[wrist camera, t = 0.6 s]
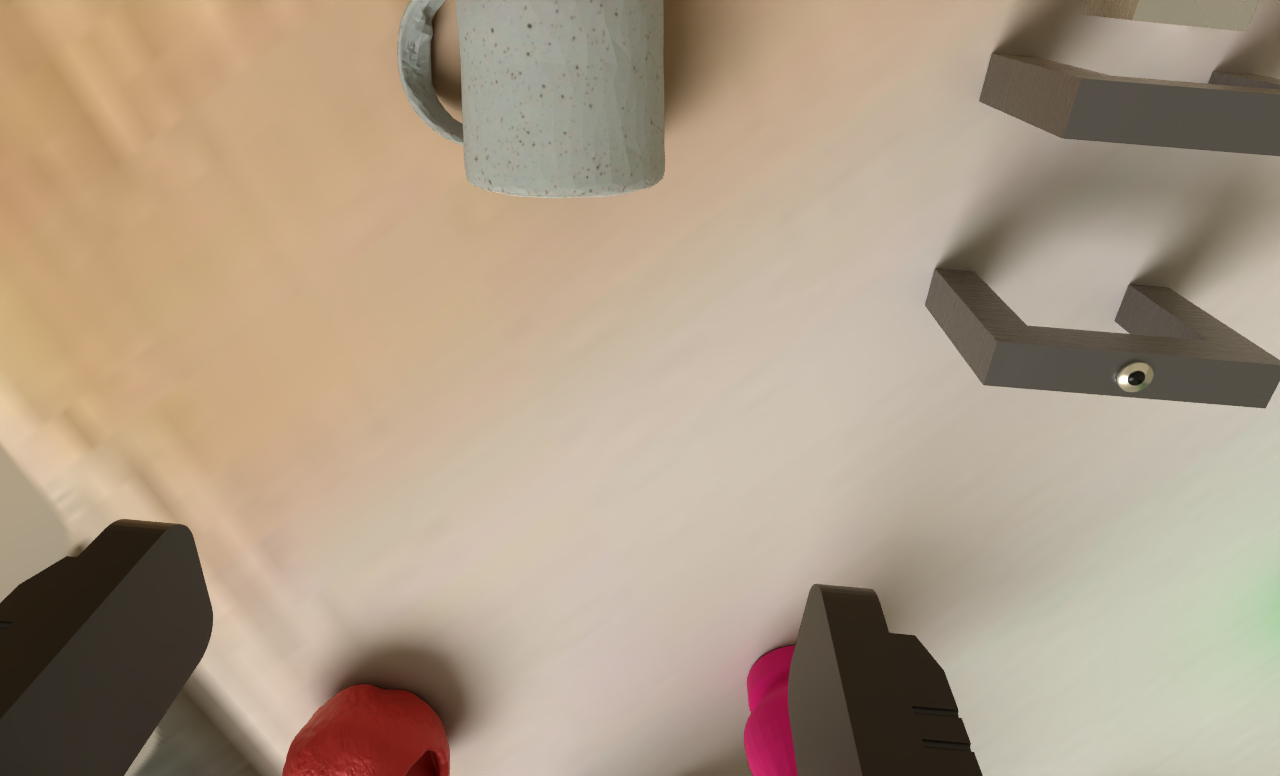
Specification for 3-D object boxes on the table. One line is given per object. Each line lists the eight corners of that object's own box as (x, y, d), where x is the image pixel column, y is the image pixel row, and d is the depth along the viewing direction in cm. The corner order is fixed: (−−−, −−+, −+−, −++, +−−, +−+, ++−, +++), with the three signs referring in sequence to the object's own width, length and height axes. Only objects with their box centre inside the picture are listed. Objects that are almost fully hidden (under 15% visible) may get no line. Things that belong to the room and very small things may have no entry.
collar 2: (934, 268, 35) (999, 344, 28) (1168, 287, 35) (1292, 368, 28) (925, 305, 36) (985, 388, 29) (1153, 324, 36) (1269, 411, 29)
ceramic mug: (666, -59, 30) (658, -67, 23) (667, 160, 33) (660, 209, 27) (394, -53, 30) (307, -58, 24) (425, 162, 34) (359, 210, 27)
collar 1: (992, 53, 31) (1081, 78, 24) (1258, 75, 31) (1424, 106, 24) (979, 101, 32) (1062, 138, 25) (1238, 122, 32) (1393, 165, 25)
